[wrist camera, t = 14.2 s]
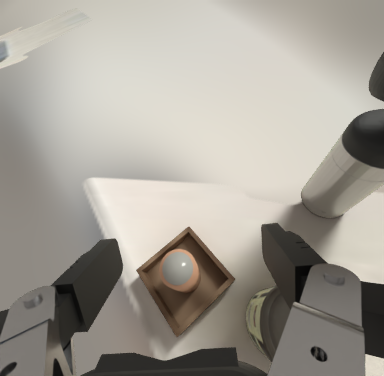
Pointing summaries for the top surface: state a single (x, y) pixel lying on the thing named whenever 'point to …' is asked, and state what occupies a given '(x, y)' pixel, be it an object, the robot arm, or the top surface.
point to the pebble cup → (180, 271)
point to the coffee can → (267, 320)
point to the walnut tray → (186, 302)
